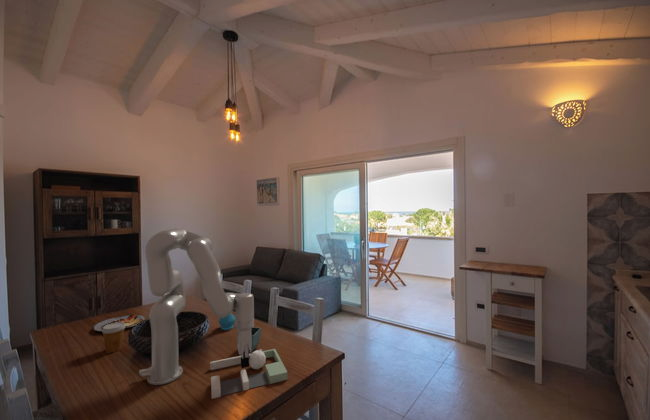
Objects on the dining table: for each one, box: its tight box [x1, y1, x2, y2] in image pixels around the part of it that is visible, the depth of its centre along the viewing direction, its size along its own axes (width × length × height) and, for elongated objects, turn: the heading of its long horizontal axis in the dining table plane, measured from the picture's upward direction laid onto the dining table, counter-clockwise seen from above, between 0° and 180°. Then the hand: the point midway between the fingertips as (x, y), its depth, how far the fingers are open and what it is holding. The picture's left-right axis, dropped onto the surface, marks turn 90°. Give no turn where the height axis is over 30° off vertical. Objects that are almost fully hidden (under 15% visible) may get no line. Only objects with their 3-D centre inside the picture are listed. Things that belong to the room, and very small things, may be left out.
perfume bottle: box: [218, 312, 236, 331], centre depth 164 cm, size 9×9×15 cm
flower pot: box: [251, 326, 262, 352], centre depth 137 cm, size 9×9×9 cm
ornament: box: [249, 348, 267, 370], centre depth 121 cm, size 7×7×8 cm
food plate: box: [93, 314, 146, 332], centre depth 168 cm, size 25×23×4 cm
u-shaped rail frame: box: [209, 348, 288, 400], centre depth 116 cm, size 28×21×3 cm
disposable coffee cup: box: [101, 322, 126, 354], centre depth 138 cm, size 10×10×12 cm
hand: (244, 366), depth 120 cm, fingers closed
